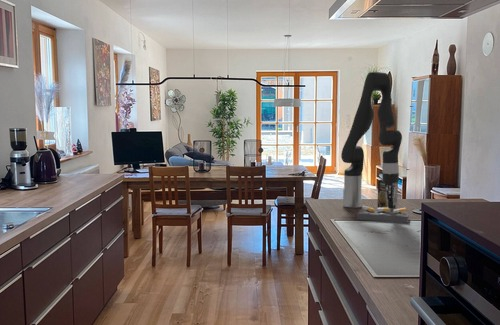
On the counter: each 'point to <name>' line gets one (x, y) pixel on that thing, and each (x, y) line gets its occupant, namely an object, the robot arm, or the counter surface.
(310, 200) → the counter surface
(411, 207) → the counter surface
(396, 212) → the right rocker
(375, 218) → the power strip
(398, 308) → the counter surface
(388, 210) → the middle rocker
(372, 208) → the left rocker
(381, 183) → the coffee box
